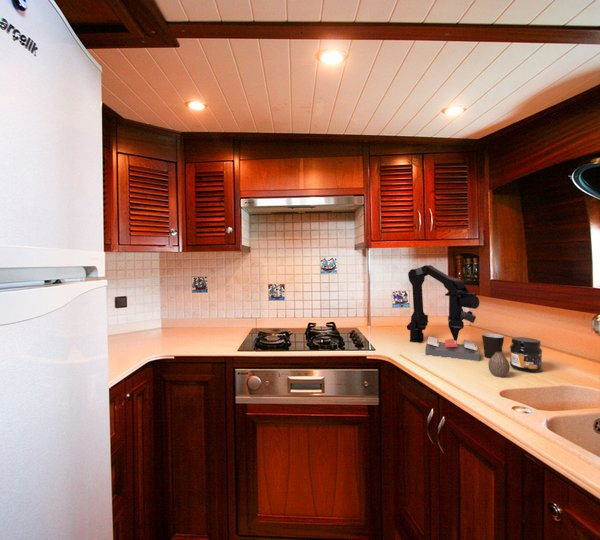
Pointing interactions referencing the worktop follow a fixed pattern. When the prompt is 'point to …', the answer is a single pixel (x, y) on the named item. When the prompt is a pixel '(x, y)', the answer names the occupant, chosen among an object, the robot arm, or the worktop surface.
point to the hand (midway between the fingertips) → (455, 338)
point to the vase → (499, 365)
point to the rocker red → (450, 343)
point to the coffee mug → (492, 344)
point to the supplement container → (526, 354)
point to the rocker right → (470, 345)
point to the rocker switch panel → (452, 351)
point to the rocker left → (433, 341)
